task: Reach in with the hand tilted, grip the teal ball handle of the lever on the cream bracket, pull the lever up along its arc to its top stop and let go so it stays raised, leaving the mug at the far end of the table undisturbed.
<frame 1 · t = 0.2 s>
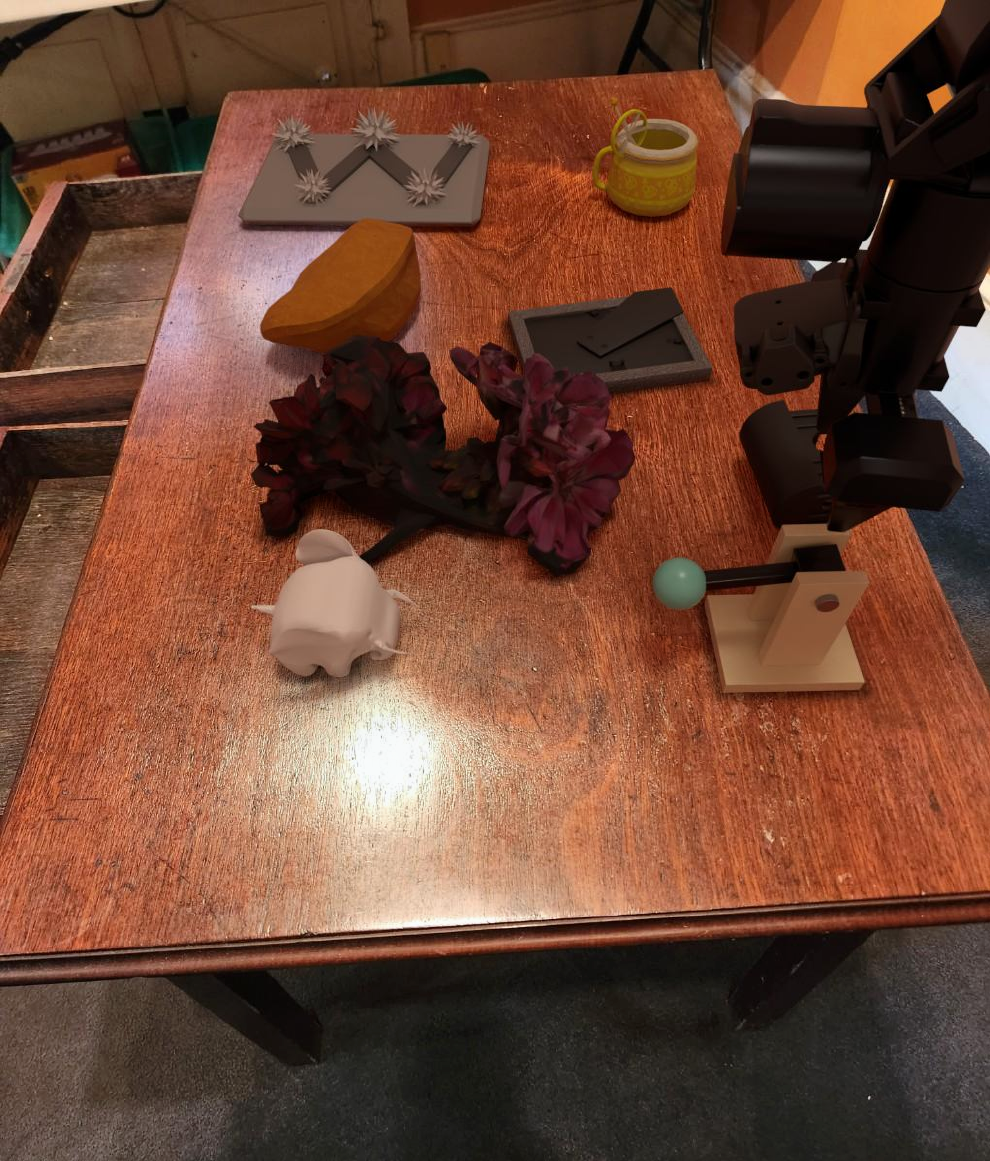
hand: (829, 477, 52), 13 cm above the table, tool pointing down, fingers open, 9 cm apart
end cap: (784, 497, 69), on the table
flower arrangement: (450, 494, 71), on the table
lever: (744, 577, 53), point 9 cm above the table, hinge at -8.0°
elephant figurine: (344, 646, 61), on the table
bracket: (778, 645, 60), on the table
mug: (640, 202, 100), on the table
picture frame: (604, 352, 82), on the table
decorative plate: (372, 190, 103), on the table
bread: (348, 325, 86), on the table
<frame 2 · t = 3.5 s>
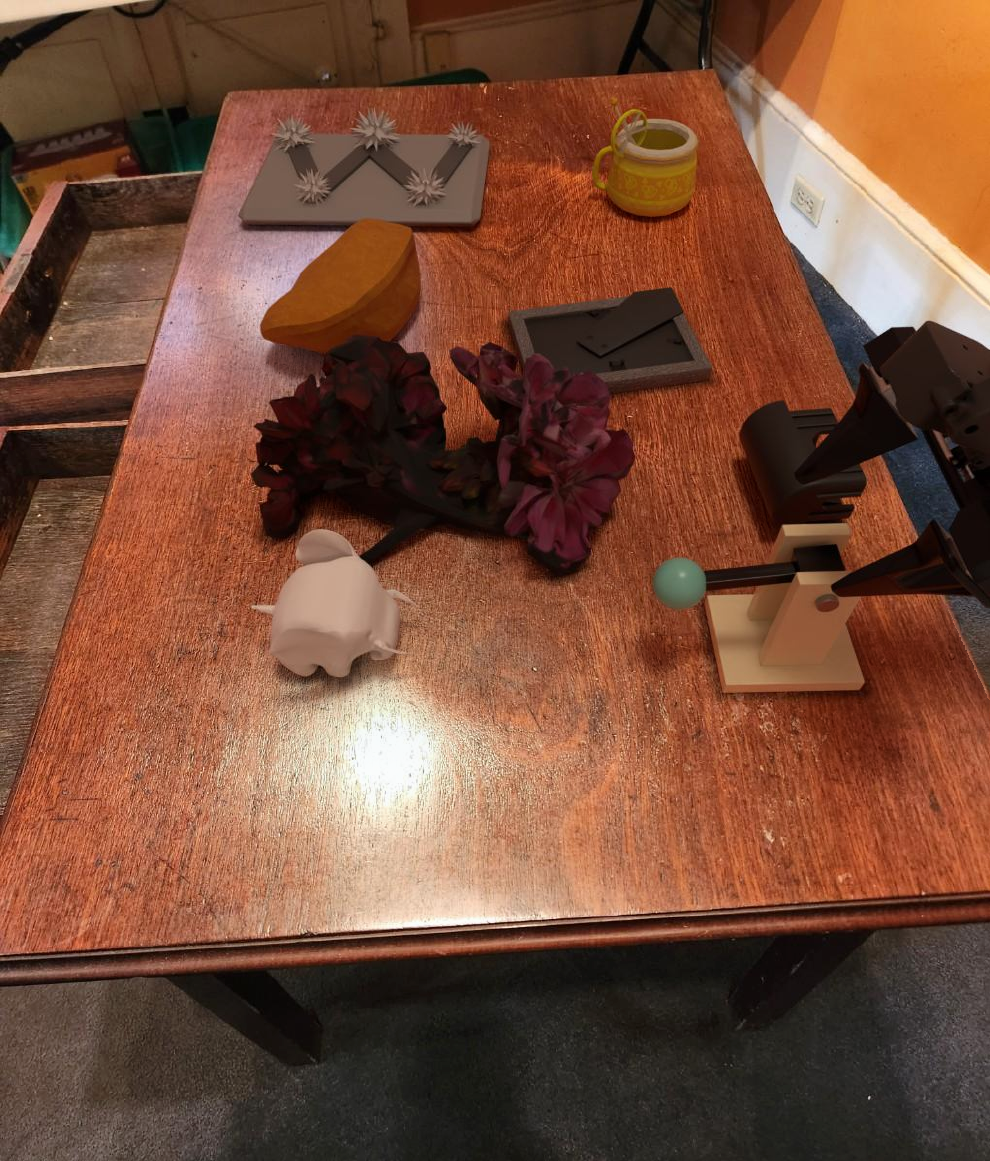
hand: (814, 532, 49), 13 cm above the table, tool tilted 45°, fingers open, 9 cm apart
nothing on the table moved.
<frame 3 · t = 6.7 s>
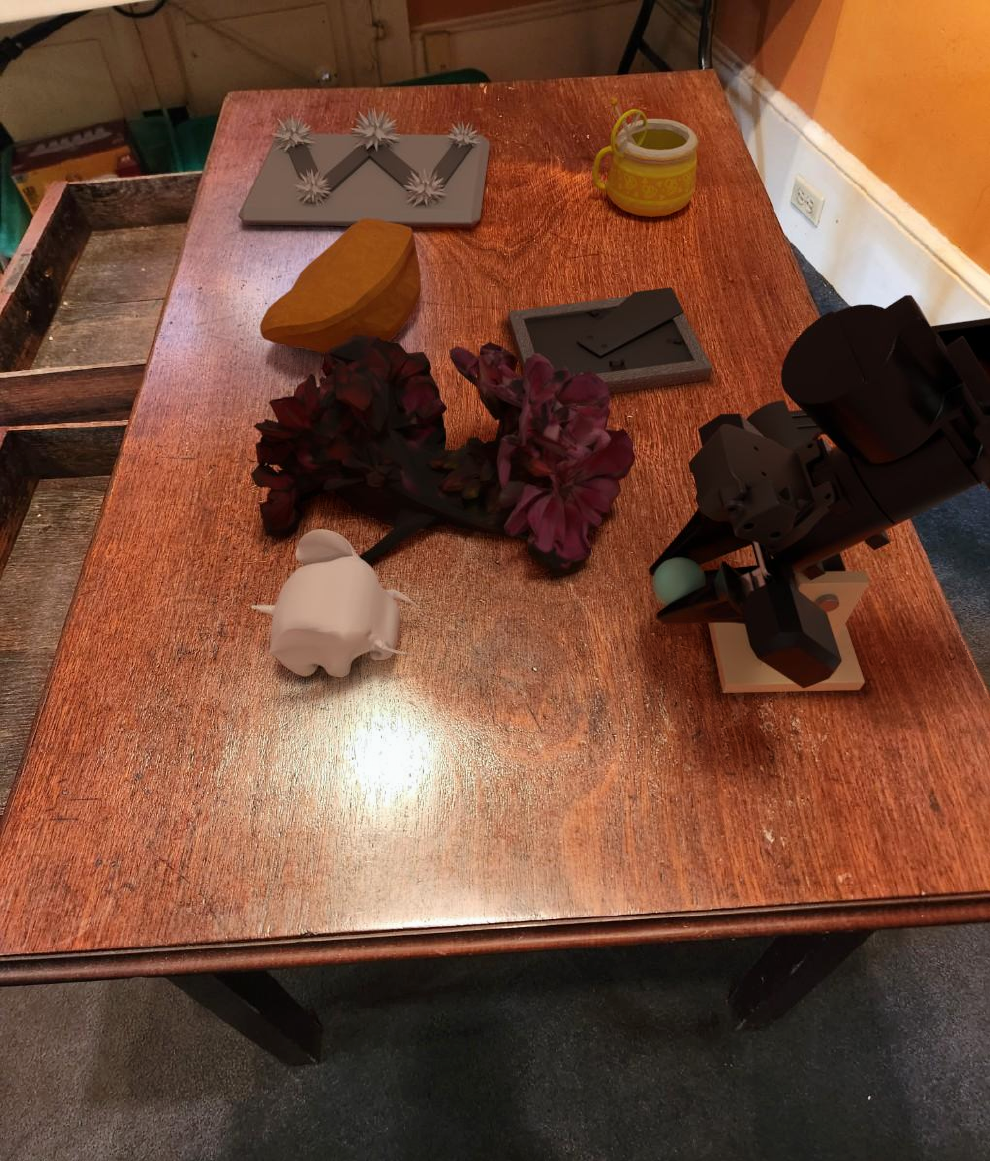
hand: (656, 596, 55), 7 cm above the table, tool tilted 45°, fingers closed on lever, 3 cm apart
lever: (744, 577, 53), point 9 cm above the table, hinge at -8.0°, touching gripper
everything else where it was.
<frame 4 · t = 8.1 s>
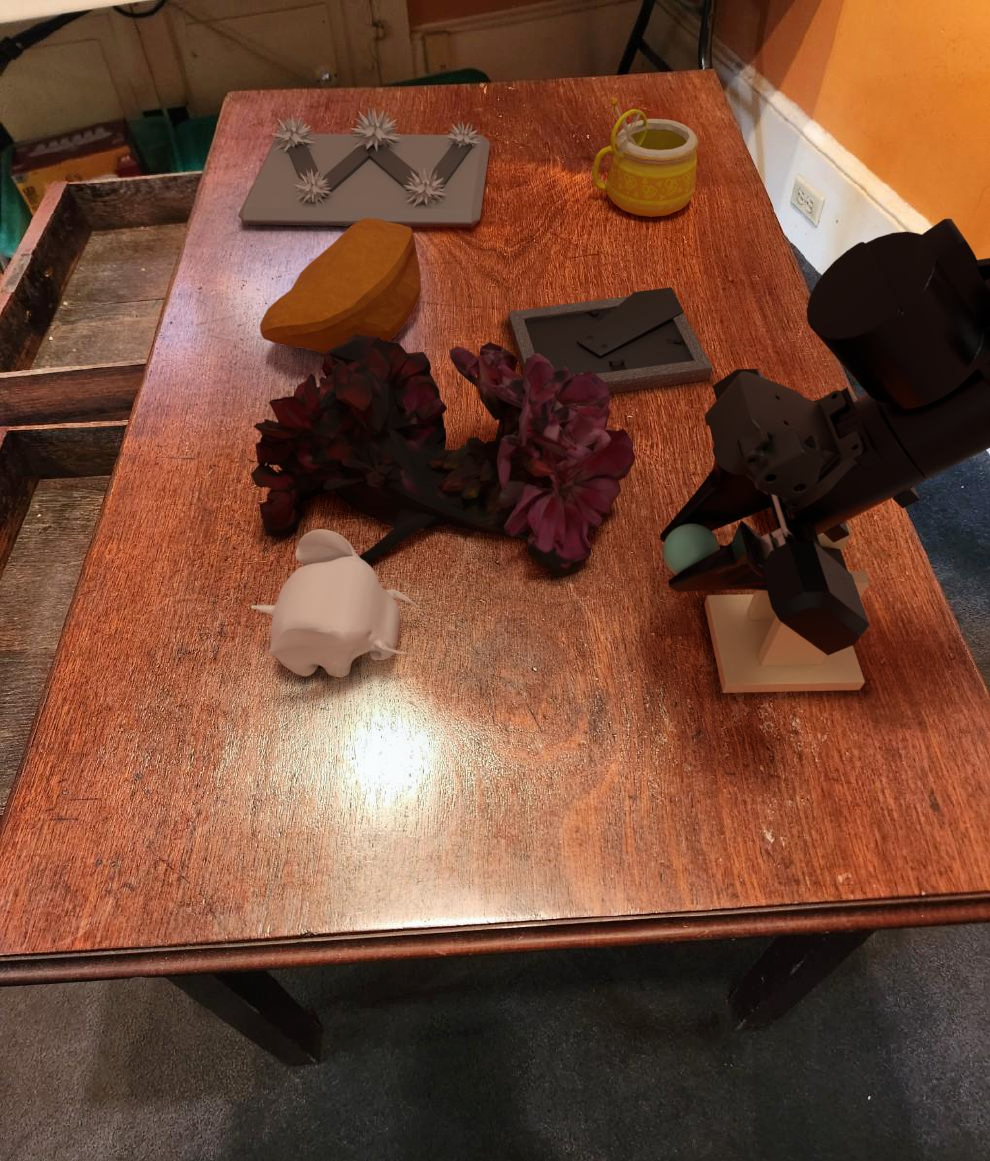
hand: (667, 563, 52), 11 cm above the table, tool tilted 45°, fingers closed on lever, 3 cm apart
lever: (751, 560, 52), point 11 cm above the table, hinge at 14.4°, touching gripper
everything else where it was.
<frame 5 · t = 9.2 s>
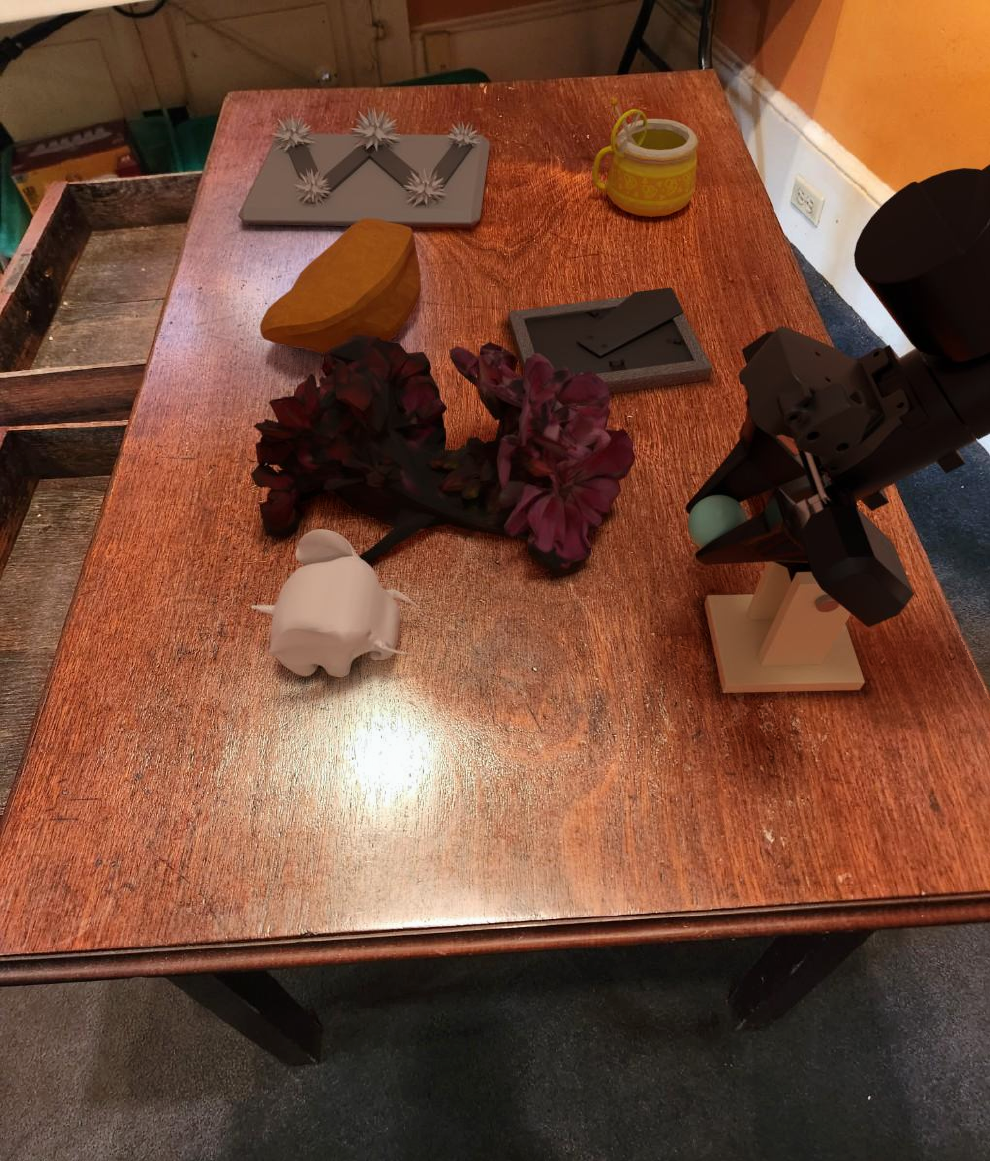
hand: (694, 535, 49), 13 cm above the table, tool tilted 45°, fingers closed on lever, 3 cm apart
lever: (766, 546, 50), point 12 cm above the table, hinge at 32.9°, touching gripper
everything else where it was.
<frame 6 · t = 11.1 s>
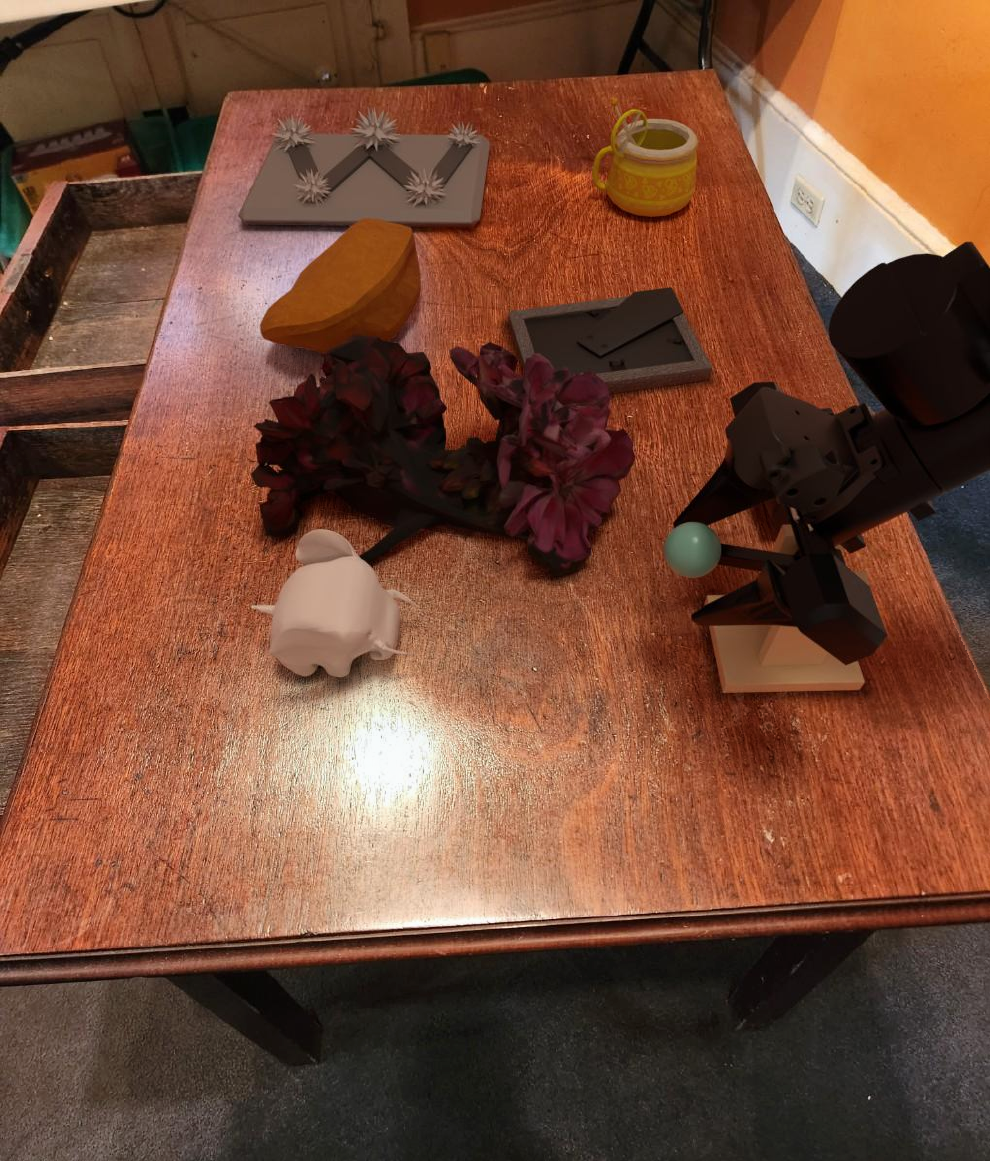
hand: (685, 572, 53), 9 cm above the table, tool tilted 45°, fingers open, 7 cm apart
lever: (752, 559, 51), point 11 cm above the table, hinge at 15.4°
everything else where it was.
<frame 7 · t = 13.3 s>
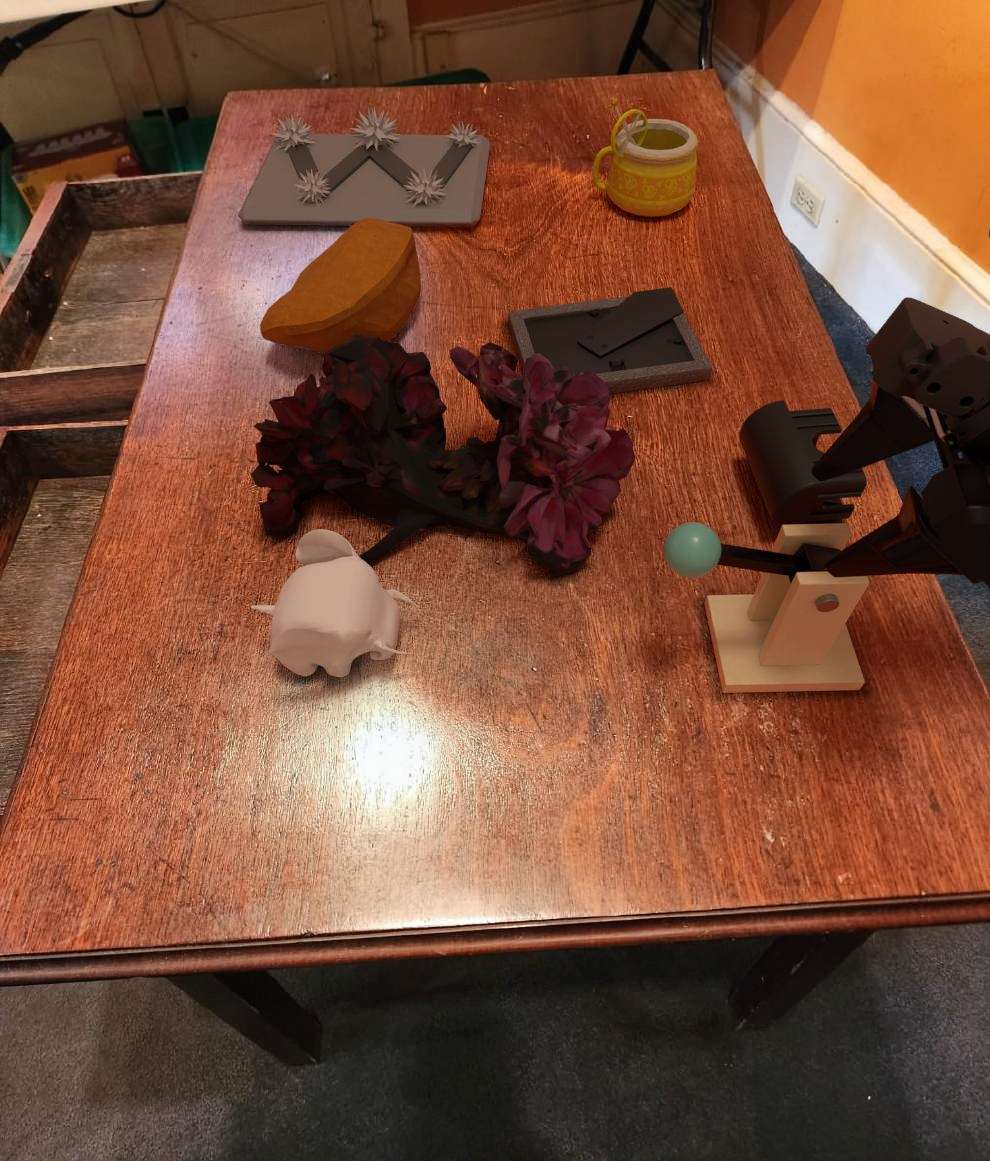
hand: (821, 520, 50), 13 cm above the table, tool tilted 40°, fingers open, 9 cm apart
nothing on the table moved.
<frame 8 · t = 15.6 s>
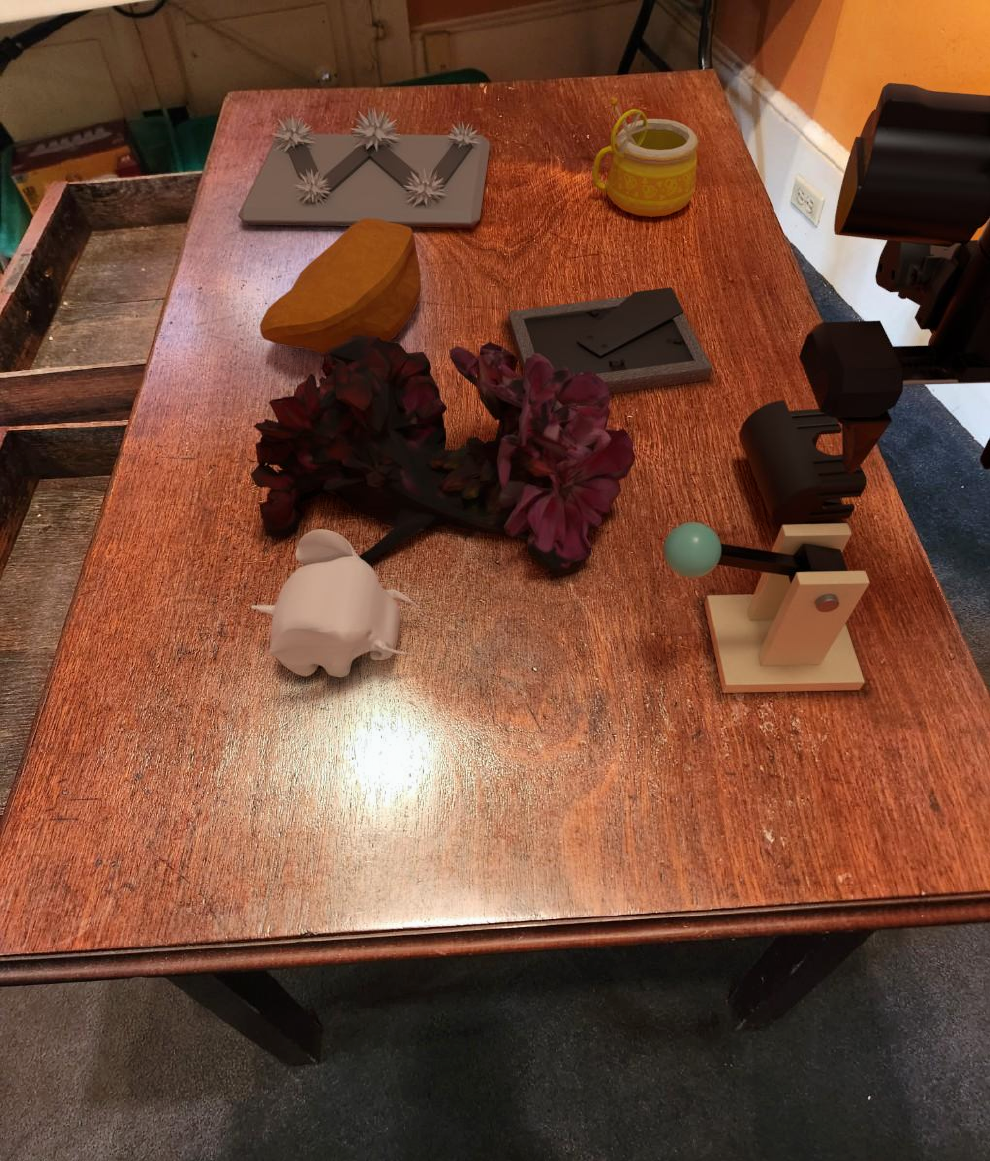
hand: (915, 466, 53), 13 cm above the table, tool pointing down, fingers open, 9 cm apart
nothing on the table moved.
at the end: lever reached +33° during the clip, +15° at the end; lever at +15° (first picture: -8°); mug moved 0.2 cm from its start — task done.
